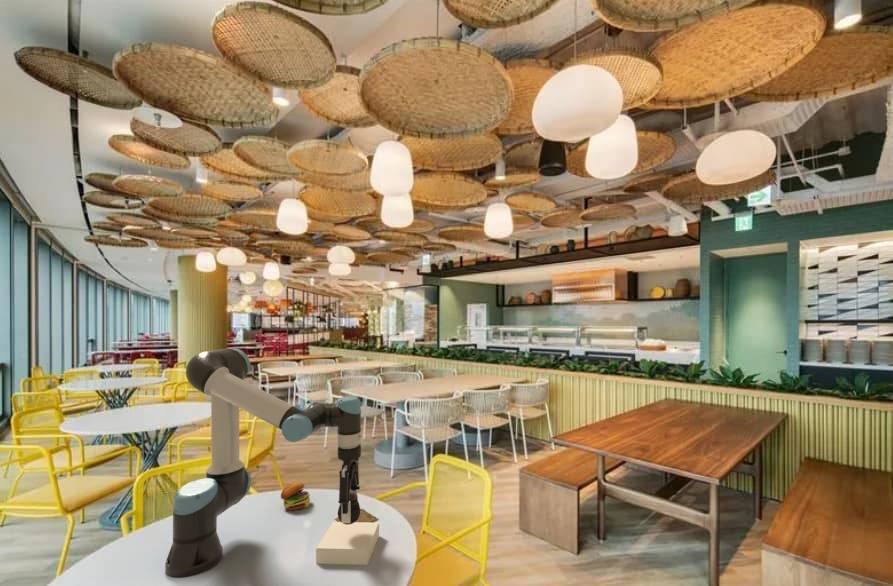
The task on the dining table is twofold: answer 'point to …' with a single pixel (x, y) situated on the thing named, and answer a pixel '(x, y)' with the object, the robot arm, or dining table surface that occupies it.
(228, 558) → the dining table surface
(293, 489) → the cheeseburger
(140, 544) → the dining table surface
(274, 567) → the dining table surface
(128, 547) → the dining table surface
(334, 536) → the cream square slab
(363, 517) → the cookie
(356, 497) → the mate gourd
